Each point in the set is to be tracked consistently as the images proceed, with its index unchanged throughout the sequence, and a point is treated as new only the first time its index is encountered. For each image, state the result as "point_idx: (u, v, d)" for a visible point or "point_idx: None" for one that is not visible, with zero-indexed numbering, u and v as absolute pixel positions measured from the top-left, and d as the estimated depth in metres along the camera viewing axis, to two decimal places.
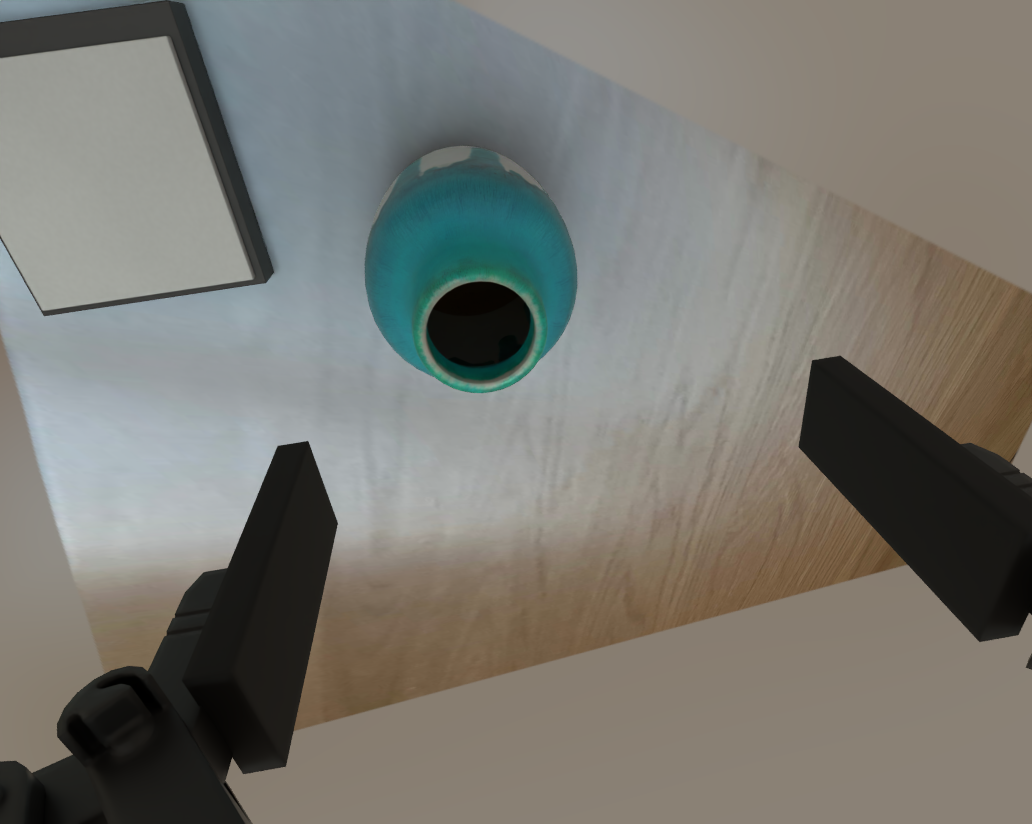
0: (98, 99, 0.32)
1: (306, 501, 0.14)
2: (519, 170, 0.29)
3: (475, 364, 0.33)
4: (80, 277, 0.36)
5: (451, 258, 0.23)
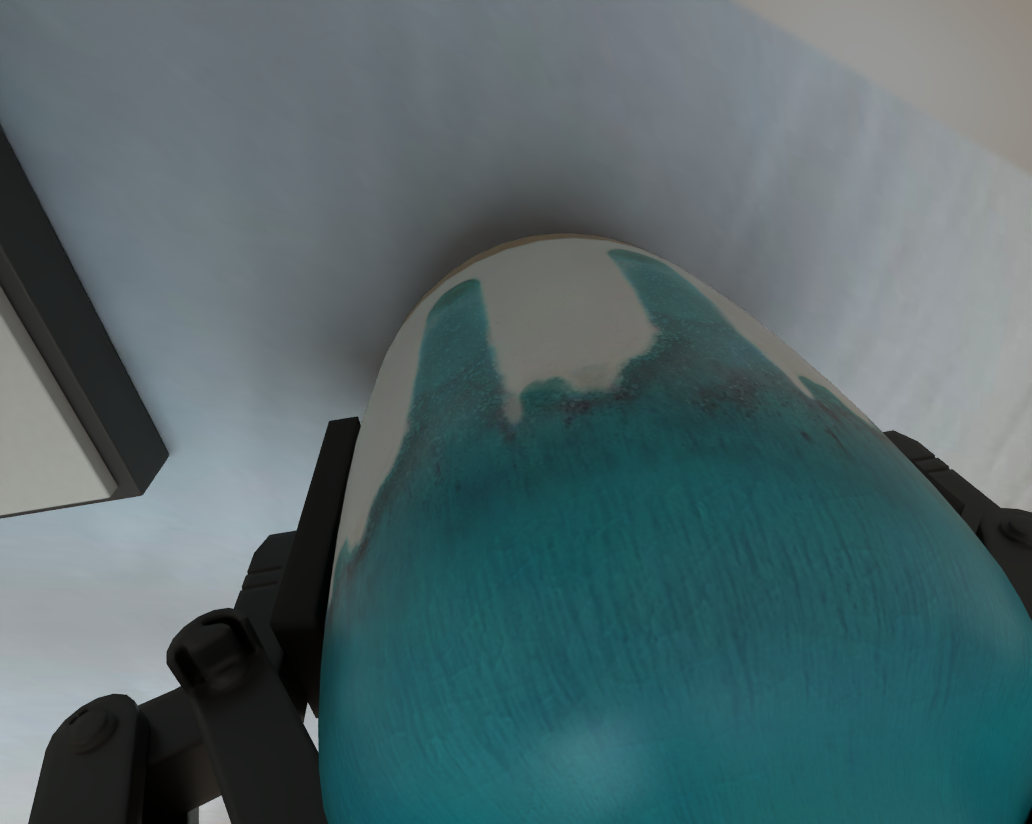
0: None
1: None
2: (789, 351, 0.10)
3: None
4: None
5: None
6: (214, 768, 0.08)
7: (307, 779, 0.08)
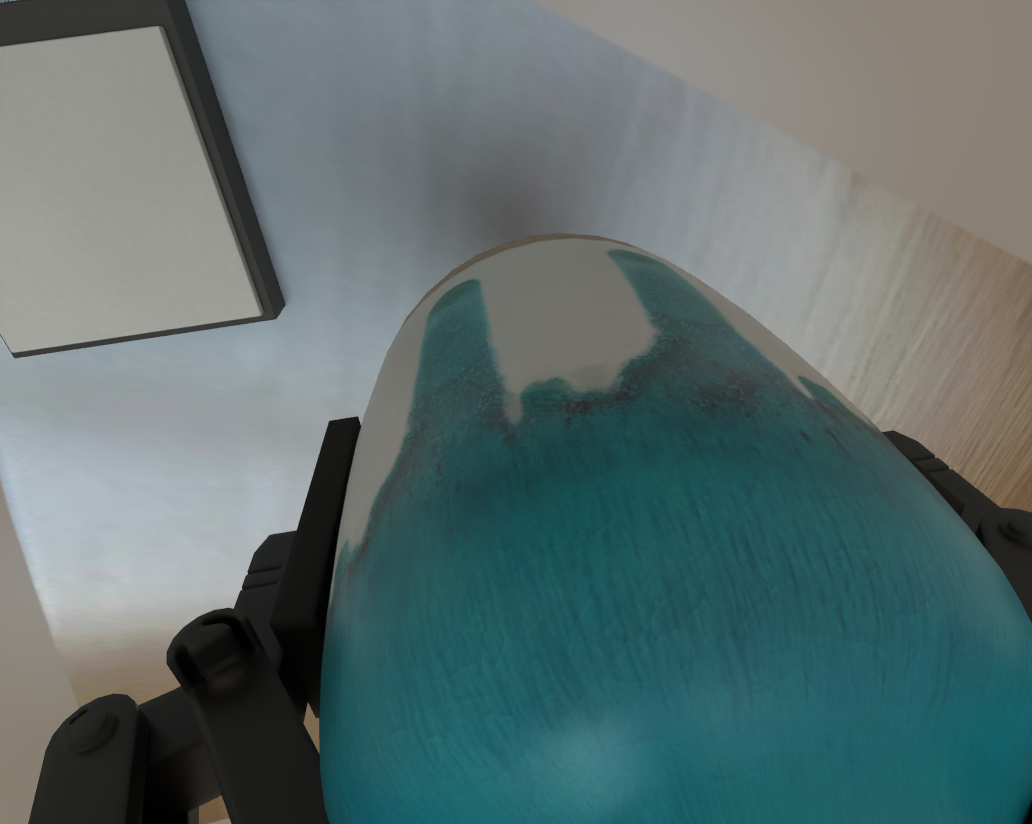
0: (75, 103, 0.26)
1: None
2: (788, 352, 0.10)
3: None
4: (56, 314, 0.30)
5: None
6: (213, 768, 0.08)
7: (307, 779, 0.08)
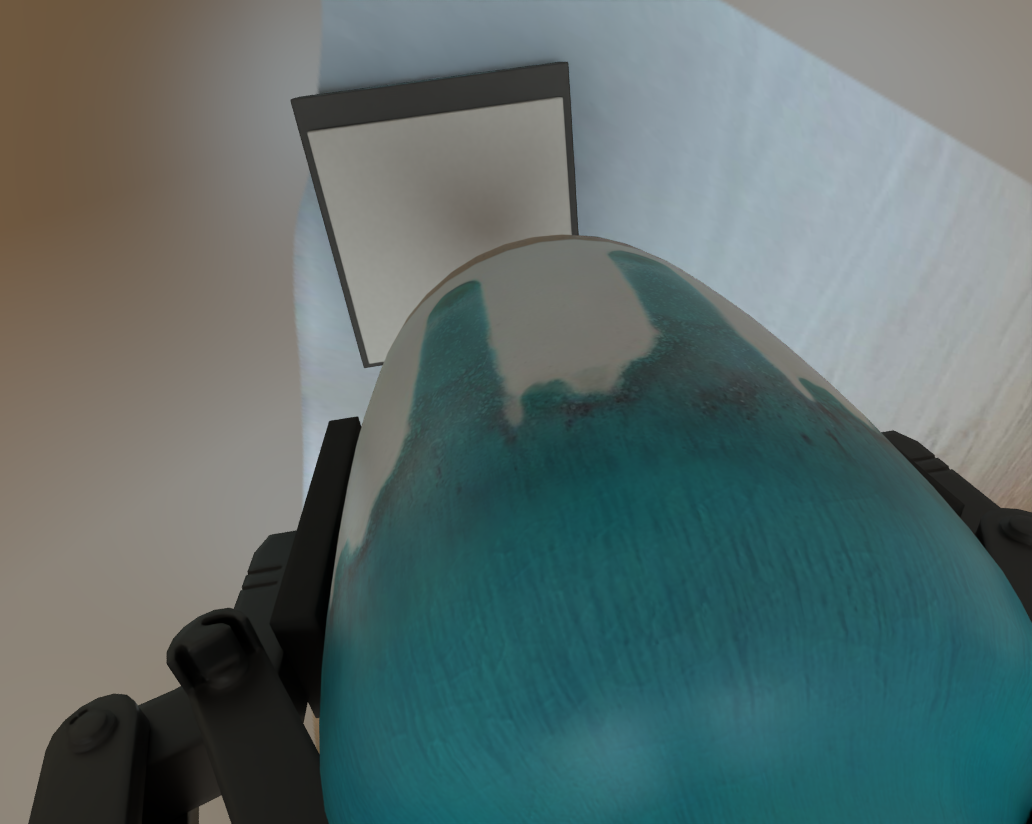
0: (481, 159, 0.31)
1: None
2: (789, 353, 0.10)
3: None
4: None
5: None
6: (213, 768, 0.08)
7: (307, 779, 0.08)
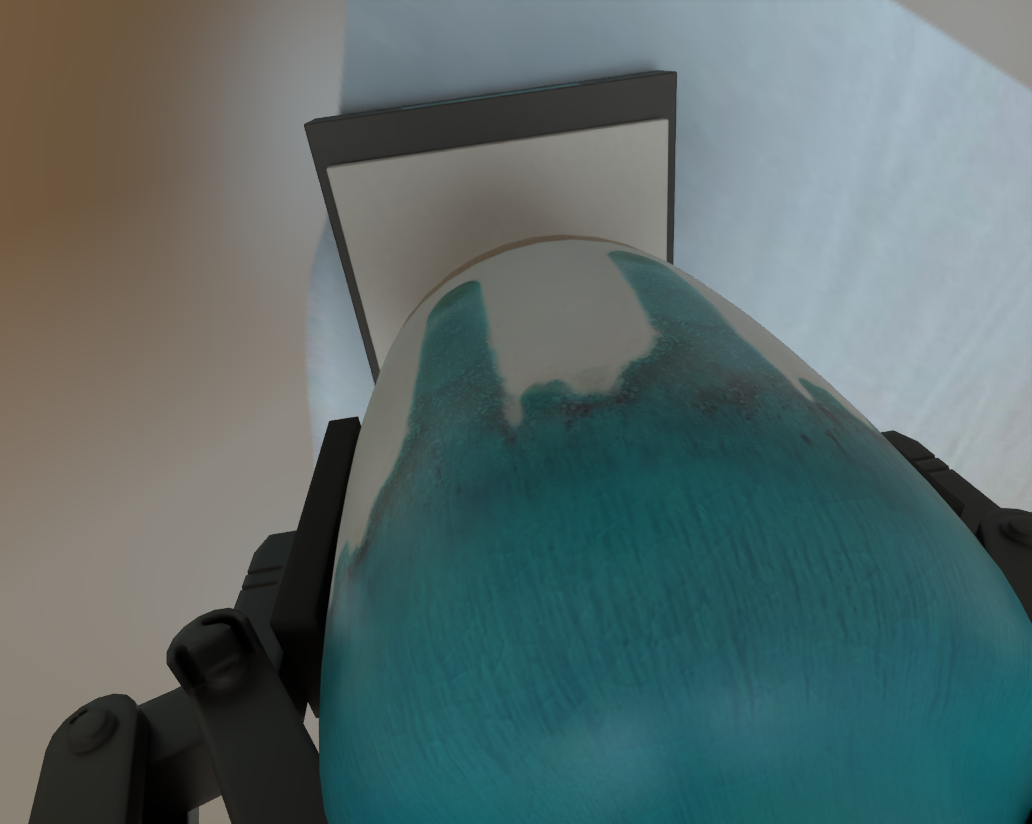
0: (555, 200, 0.24)
1: None
2: (789, 354, 0.10)
3: None
4: None
5: None
6: (214, 768, 0.08)
7: (306, 779, 0.08)
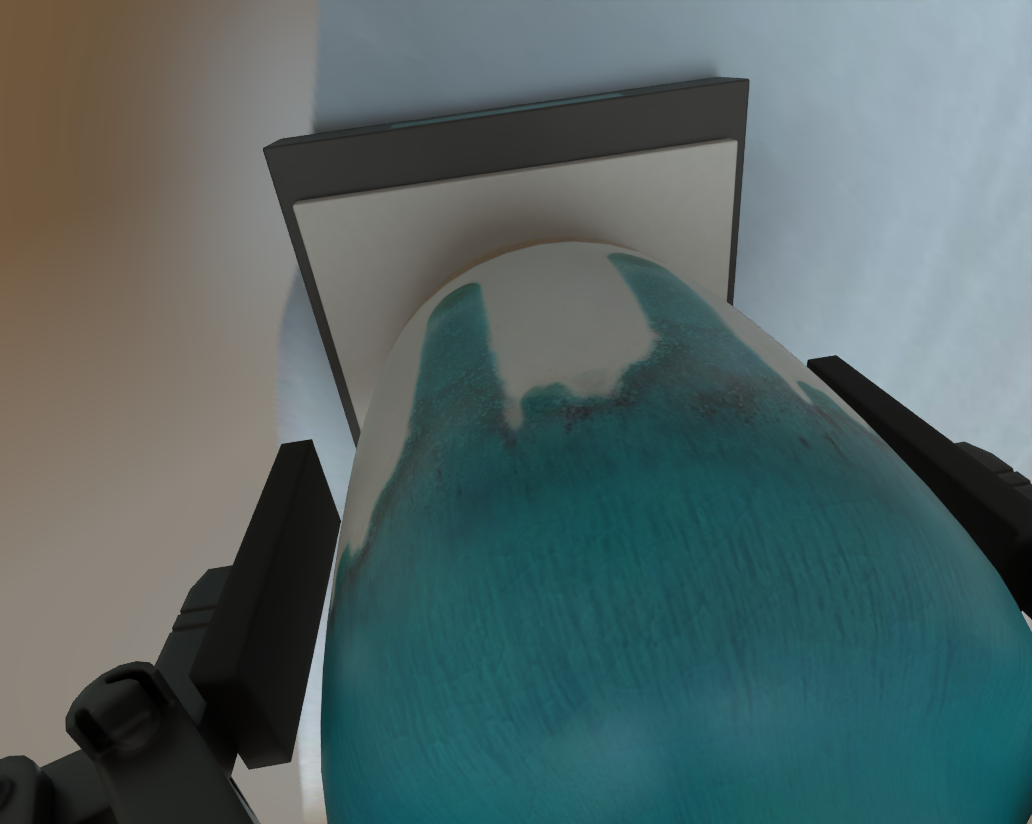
0: None
1: (310, 499, 0.14)
2: (788, 356, 0.10)
3: None
4: None
5: None
6: None
7: None
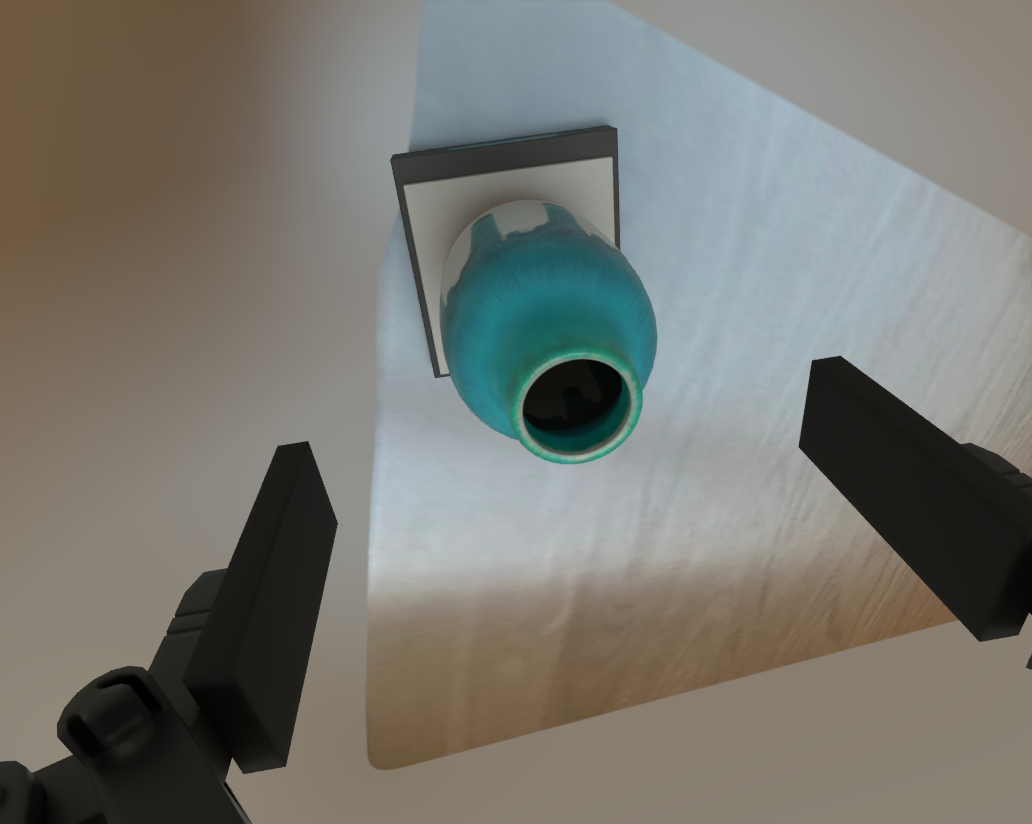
0: None
1: (306, 501, 0.14)
2: (596, 231, 0.29)
3: (543, 419, 0.33)
4: None
5: (547, 332, 0.23)
6: None
7: None
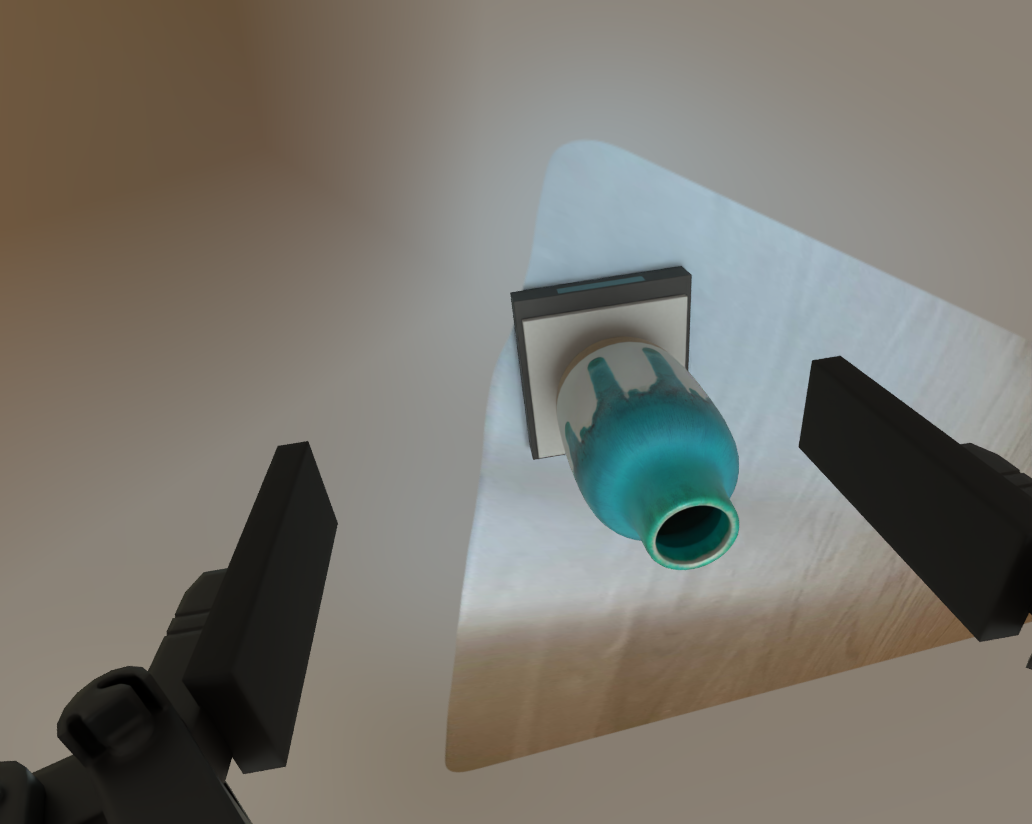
0: (631, 333, 0.48)
1: (306, 501, 0.14)
2: (690, 381, 0.39)
3: None
4: None
5: (672, 481, 0.33)
6: None
7: None
